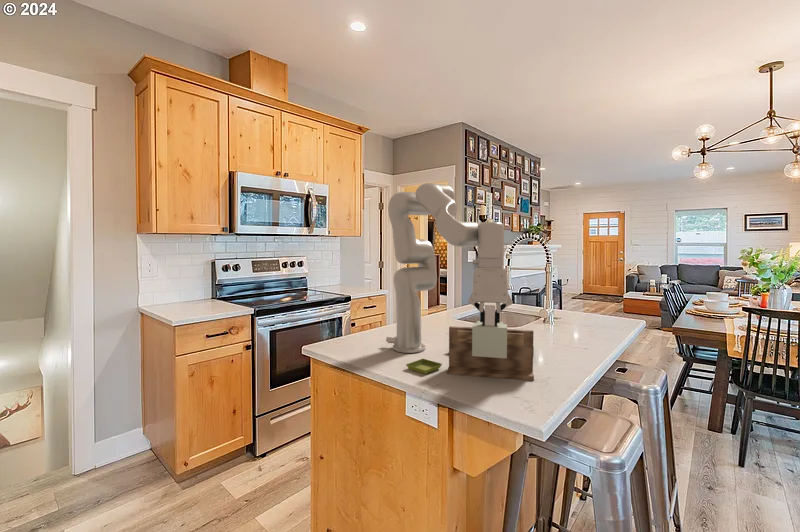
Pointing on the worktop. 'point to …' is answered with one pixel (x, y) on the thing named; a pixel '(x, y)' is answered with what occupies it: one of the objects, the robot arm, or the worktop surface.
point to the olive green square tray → (424, 366)
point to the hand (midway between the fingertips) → (489, 324)
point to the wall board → (510, 367)
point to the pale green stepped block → (489, 336)
